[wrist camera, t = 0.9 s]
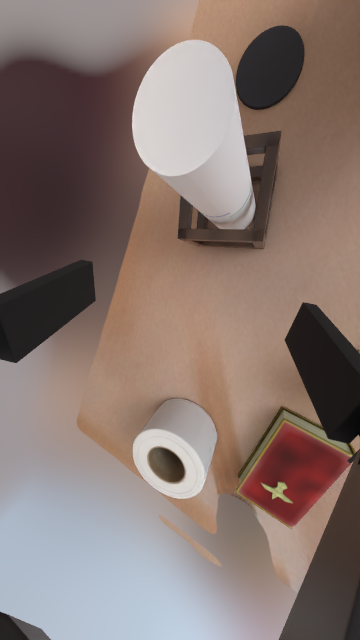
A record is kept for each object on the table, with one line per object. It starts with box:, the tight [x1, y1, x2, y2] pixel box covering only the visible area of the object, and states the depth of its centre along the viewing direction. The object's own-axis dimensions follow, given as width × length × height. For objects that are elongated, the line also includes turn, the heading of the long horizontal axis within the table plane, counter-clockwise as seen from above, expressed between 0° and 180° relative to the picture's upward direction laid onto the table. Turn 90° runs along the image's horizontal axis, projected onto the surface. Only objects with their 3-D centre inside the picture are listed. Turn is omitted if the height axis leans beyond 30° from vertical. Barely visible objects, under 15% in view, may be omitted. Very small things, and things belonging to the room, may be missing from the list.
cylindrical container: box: [132, 40, 256, 229], centre depth 25 cm, size 7×7×25 cm
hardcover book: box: [236, 406, 356, 529], centre depth 40 cm, size 12×21×4 cm, turn 161°
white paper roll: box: [133, 398, 218, 499], centre depth 45 cm, size 16×15×11 cm
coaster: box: [236, 26, 304, 110], centre depth 30 cm, size 9×9×1 cm
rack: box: [178, 131, 281, 249], centre depth 32 cm, size 12×12×10 cm
